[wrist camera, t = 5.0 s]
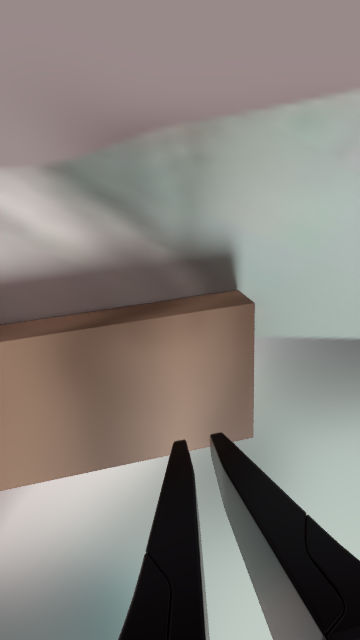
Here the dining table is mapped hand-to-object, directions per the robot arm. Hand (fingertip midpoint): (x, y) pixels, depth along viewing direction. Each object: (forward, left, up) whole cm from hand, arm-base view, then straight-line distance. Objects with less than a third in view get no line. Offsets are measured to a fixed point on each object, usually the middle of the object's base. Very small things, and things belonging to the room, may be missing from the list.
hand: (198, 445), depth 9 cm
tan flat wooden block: (+3, 0, -5) cm, 6 cm away
